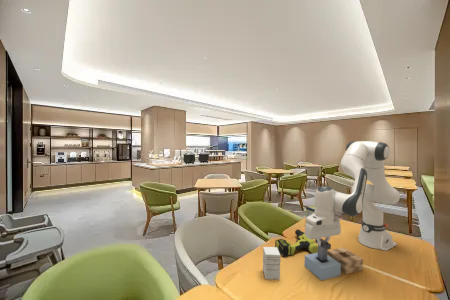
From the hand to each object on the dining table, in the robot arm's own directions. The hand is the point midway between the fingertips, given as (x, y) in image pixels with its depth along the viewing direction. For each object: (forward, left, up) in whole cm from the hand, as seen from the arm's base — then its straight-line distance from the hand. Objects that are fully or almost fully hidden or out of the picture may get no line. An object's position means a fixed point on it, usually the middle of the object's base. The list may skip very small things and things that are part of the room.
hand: (322, 244), depth 108 cm
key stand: (-15, 0, -14) cm, 20 cm away
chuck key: (0, 0, -12) cm, 12 cm away
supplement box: (+27, -5, -14) cm, 31 cm away
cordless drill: (-1, -27, -14) cm, 30 cm away
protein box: (-38, -45, -14) cm, 61 cm away
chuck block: (0, 0, -14) cm, 14 cm away
